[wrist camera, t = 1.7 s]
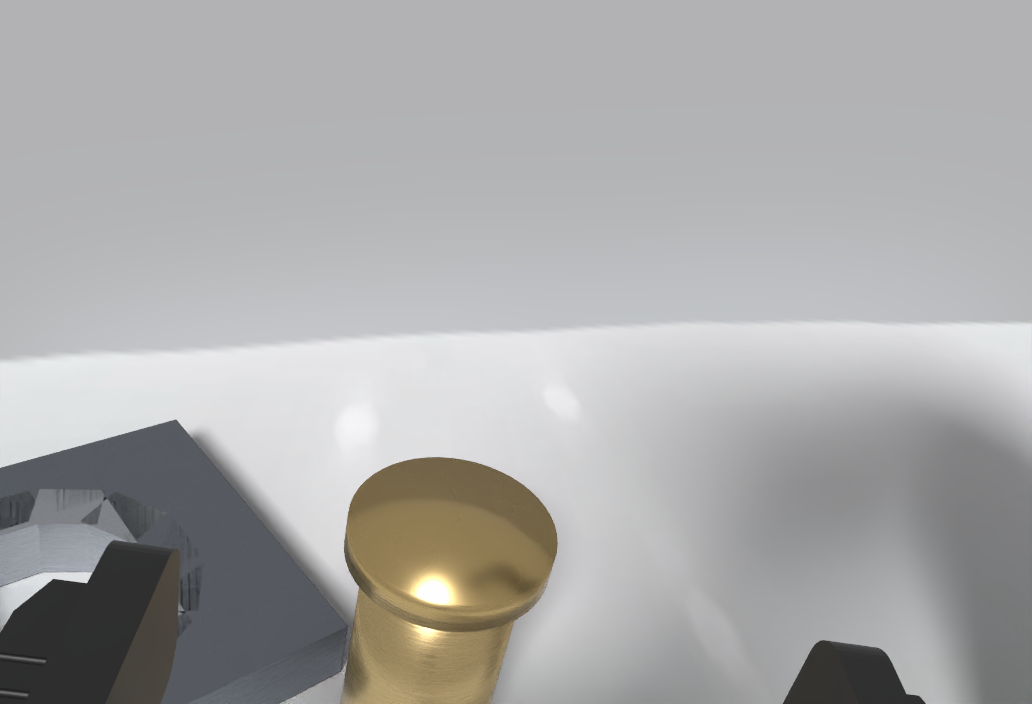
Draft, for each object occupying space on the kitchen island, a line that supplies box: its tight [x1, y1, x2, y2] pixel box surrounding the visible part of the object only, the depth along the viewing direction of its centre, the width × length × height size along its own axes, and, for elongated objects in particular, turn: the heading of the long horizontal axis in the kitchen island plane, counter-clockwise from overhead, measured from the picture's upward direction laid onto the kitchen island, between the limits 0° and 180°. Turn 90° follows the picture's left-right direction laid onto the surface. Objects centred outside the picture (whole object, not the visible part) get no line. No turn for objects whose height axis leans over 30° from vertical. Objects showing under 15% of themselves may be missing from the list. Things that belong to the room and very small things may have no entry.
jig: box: [0, 420, 348, 704], centre depth 33 cm, size 16×14×2 cm
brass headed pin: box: [341, 457, 558, 704], centre depth 28 cm, size 6×6×12 cm
